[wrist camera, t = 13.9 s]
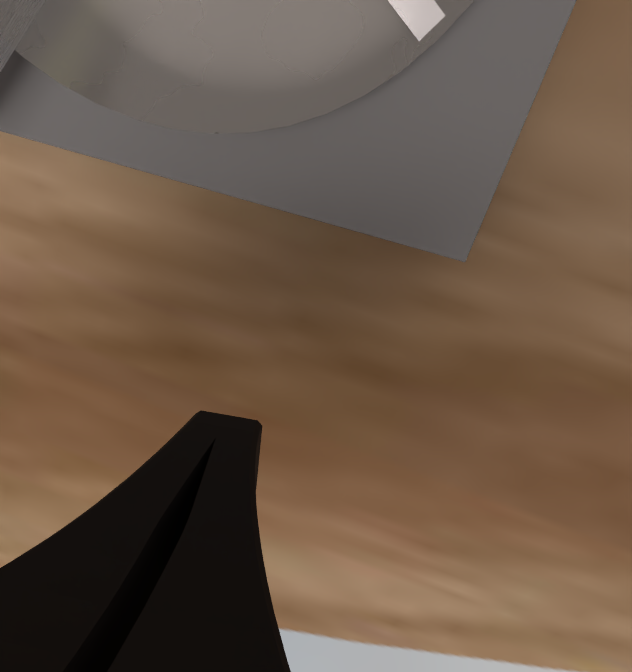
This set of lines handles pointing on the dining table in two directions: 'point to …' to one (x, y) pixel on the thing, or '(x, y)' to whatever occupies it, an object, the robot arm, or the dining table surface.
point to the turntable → (223, 54)
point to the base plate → (344, 134)
